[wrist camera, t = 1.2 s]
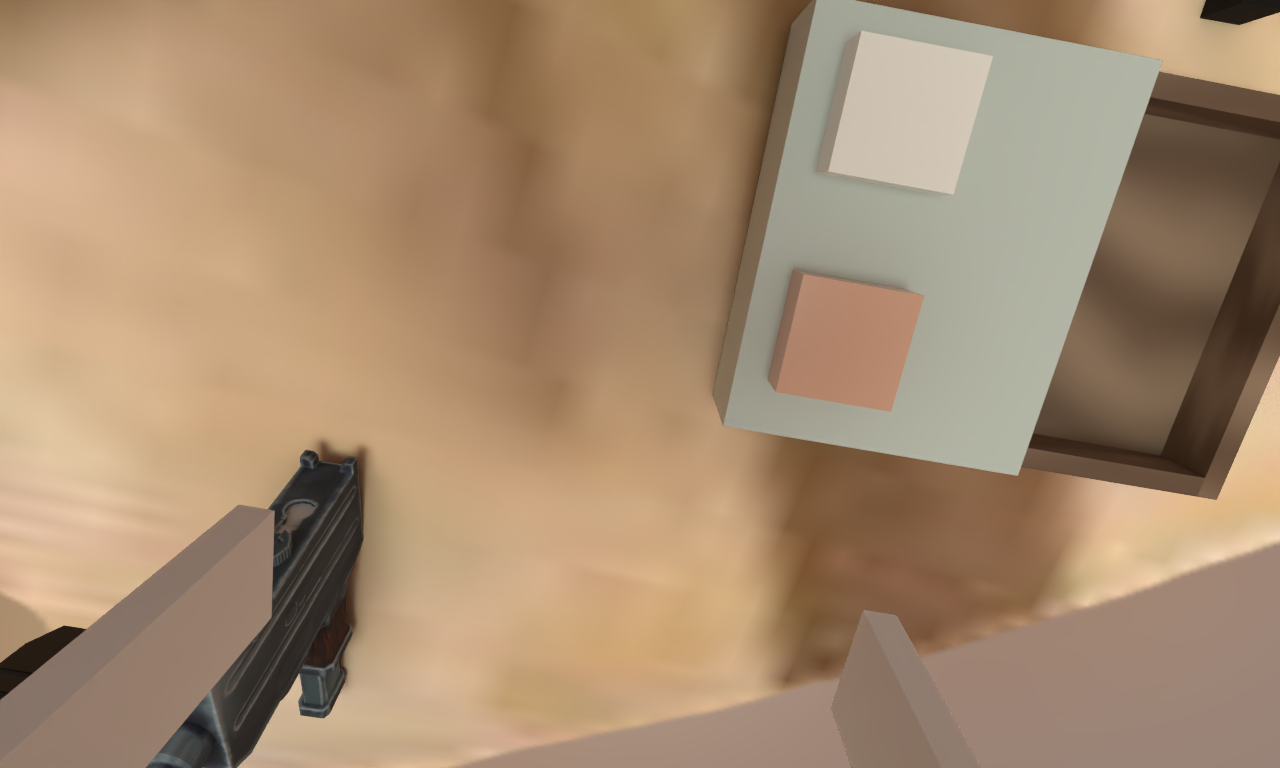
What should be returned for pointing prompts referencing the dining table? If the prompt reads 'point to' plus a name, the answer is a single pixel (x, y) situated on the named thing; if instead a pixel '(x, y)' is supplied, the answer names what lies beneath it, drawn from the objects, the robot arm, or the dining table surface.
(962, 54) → the tile
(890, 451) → the board
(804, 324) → the tile
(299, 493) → the gun
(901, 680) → the robot arm
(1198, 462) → the tray
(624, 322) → the dining table surface
